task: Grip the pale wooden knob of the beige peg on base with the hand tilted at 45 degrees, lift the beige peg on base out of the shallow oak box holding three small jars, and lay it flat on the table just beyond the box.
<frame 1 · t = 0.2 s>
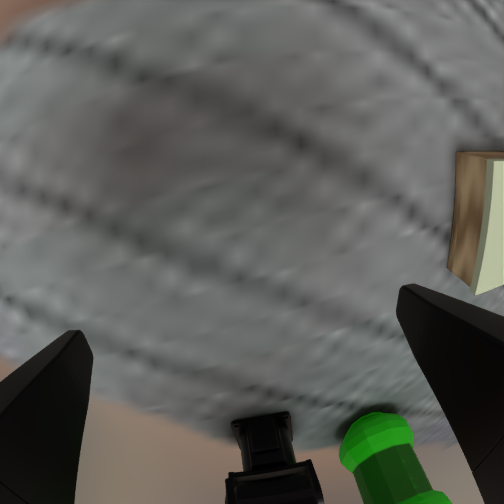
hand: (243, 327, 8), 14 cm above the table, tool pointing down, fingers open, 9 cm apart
oak box: (490, 206, 24), on the table
plastic bottle: (366, 422, 35), on the table
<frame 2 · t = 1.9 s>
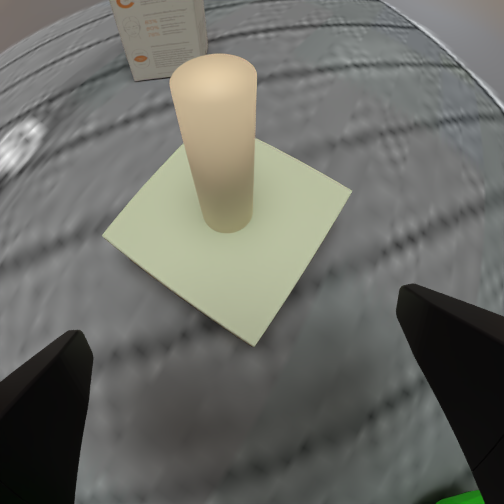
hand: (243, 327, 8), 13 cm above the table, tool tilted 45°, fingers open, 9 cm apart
small box: (172, 64, 32), on the table
beige peg on base: (228, 216, 20), point 4 cm above the table, touching oak box
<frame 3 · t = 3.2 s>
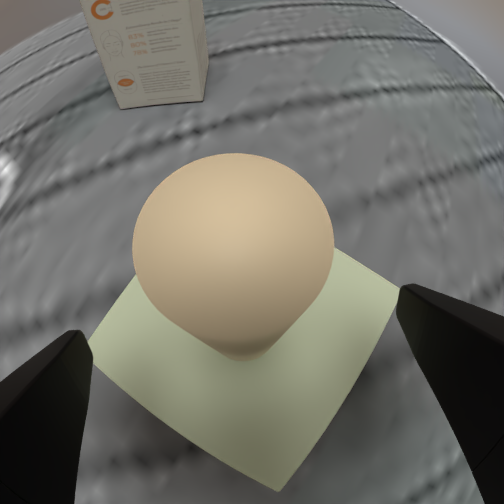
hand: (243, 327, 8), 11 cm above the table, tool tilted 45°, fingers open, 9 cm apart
small box: (165, 86, 27), on the table
beige peg on base: (243, 330, 15), point 4 cm above the table, touching oak box
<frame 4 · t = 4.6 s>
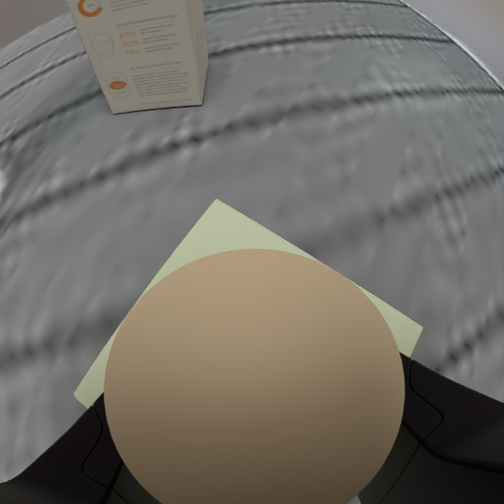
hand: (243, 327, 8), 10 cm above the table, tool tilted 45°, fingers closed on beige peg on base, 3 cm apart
small box: (162, 88, 25), on the table
beige peg on base: (249, 374, 13), point 4 cm above the table, touching gripper, oak box
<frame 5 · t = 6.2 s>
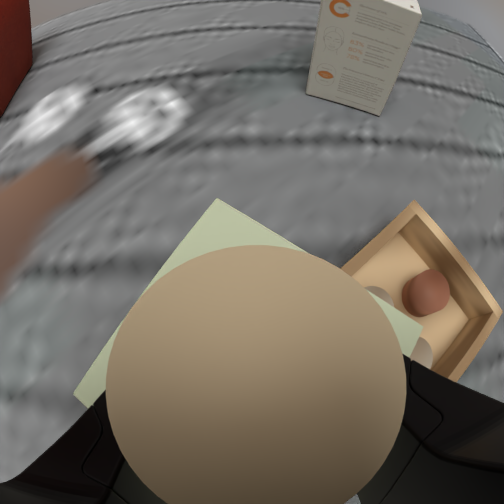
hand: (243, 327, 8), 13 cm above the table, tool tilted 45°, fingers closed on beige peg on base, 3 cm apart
small box: (345, 89, 30), on the table
oak box: (396, 318, 21), on the table
beige peg on base: (250, 373, 13), point 8 cm above the table, touching gripper
when the fingers open (7 cm above the table, at t = 7.9 s): beige peg on base drops 1 cm, on the table.
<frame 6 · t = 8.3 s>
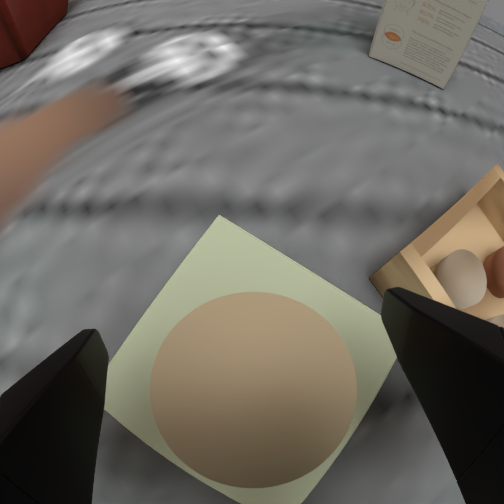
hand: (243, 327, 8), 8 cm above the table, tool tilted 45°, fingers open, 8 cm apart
small box: (407, 60, 25), on the table
oak box: (475, 298, 16), on the table
plant pot: (19, 45, 28), on the table
beige peg on base: (249, 375, 14), on the table
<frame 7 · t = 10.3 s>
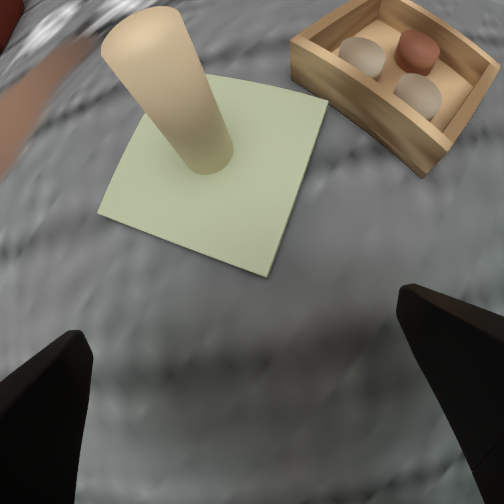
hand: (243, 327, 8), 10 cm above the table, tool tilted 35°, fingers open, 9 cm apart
oak box: (396, 81, 19), on the table
beige peg on base: (211, 157, 19), on the table
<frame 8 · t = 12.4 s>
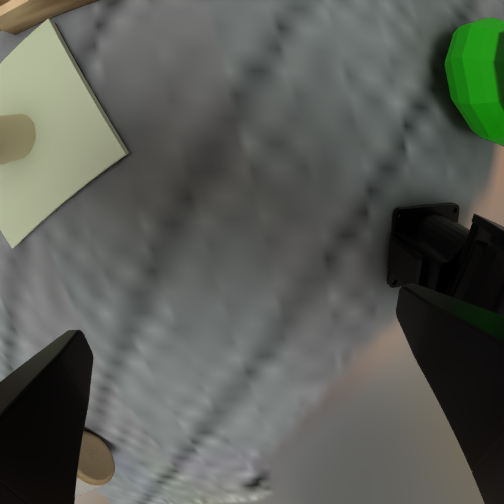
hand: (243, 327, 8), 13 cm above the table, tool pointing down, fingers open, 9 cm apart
plastic bottle: (467, 81, 18), on the table
ceramic mug: (72, 434, 29), on the table
beige peg on base: (24, 135, 16), on the table
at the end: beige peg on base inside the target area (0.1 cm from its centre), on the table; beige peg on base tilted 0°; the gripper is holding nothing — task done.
